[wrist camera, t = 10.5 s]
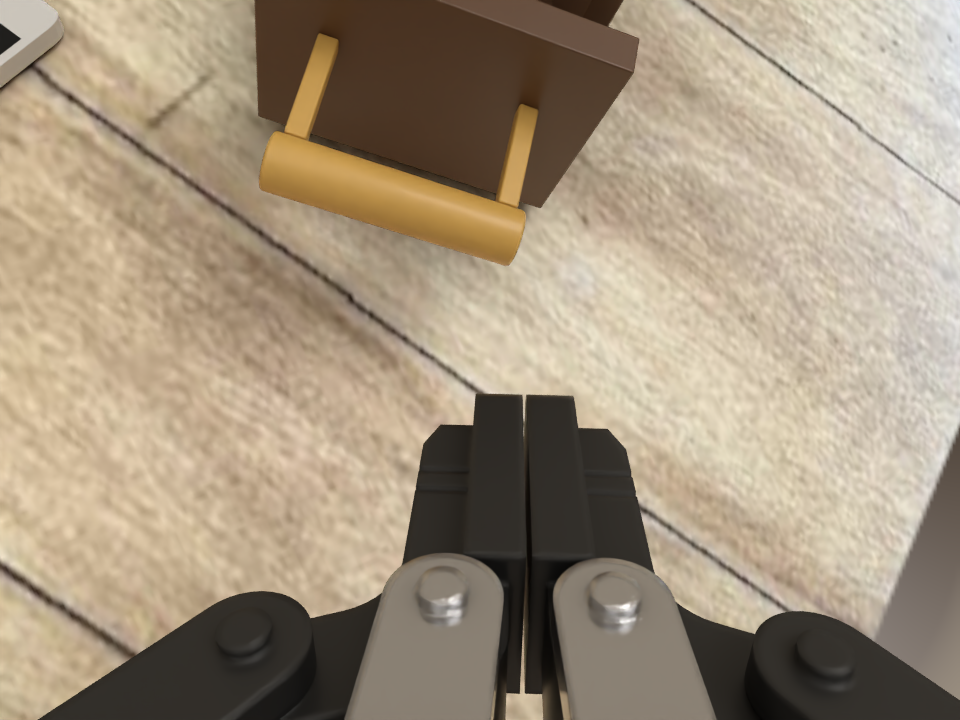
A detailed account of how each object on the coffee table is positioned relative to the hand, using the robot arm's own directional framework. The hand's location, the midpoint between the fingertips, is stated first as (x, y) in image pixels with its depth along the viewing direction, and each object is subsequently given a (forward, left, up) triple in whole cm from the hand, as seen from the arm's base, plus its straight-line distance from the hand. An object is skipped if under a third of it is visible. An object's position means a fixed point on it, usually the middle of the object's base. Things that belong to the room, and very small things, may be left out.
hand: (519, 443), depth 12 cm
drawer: (+3, -15, -12) cm, 19 cm away
